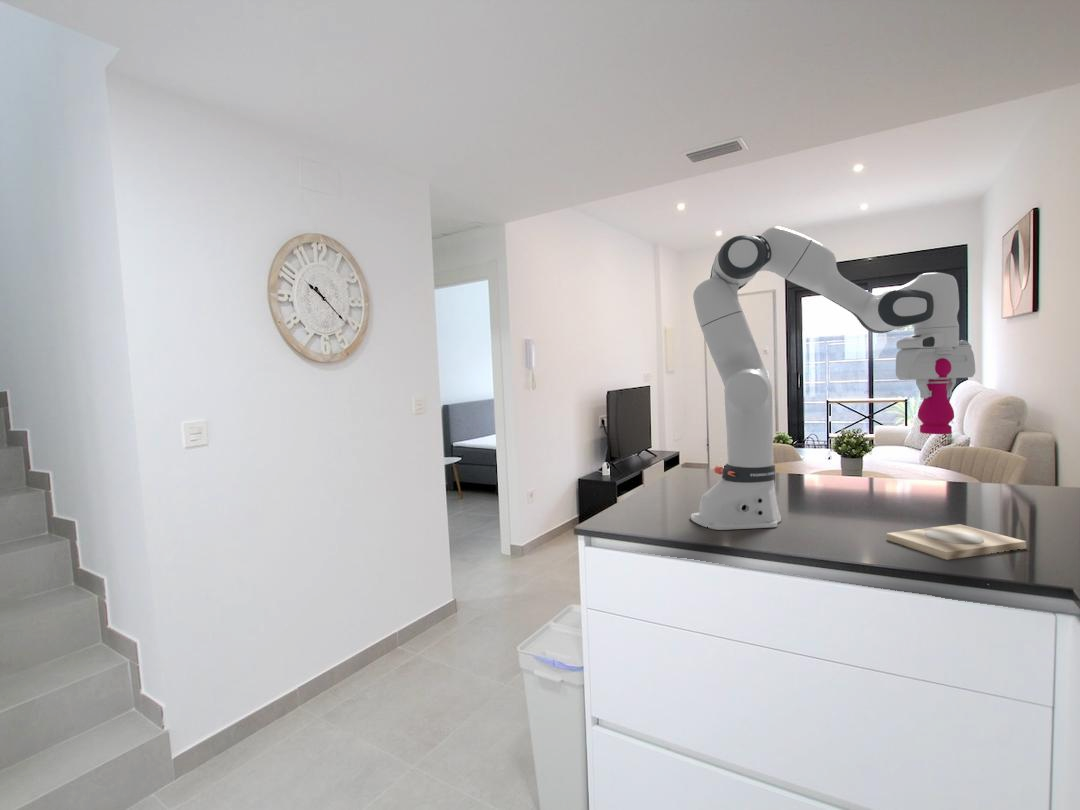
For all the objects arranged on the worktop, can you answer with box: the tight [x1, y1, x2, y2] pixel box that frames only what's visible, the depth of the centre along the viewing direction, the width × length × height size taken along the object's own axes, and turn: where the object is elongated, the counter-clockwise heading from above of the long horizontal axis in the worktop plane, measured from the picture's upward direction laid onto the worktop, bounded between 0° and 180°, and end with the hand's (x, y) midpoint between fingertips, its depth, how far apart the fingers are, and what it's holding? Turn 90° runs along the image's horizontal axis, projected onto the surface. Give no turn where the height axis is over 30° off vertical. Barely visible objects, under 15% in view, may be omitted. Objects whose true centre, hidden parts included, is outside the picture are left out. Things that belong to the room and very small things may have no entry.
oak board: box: [886, 523, 1027, 561], centre depth 116 cm, size 20×14×2 cm
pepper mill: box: [917, 358, 955, 435], centre depth 133 cm, size 7×7×20 cm
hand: (936, 397), depth 133 cm, fingers closed on pepper mill, 5 cm apart
